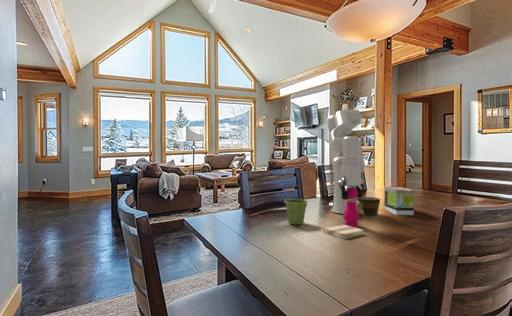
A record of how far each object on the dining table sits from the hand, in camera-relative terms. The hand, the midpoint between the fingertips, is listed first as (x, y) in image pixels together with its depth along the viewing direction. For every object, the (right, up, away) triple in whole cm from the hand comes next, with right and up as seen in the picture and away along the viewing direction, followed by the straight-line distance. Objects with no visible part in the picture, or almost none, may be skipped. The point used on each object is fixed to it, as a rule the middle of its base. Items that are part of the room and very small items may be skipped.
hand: (351, 198), depth 134 cm
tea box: (+36, -13, +27) cm, 46 cm away
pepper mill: (0, -14, +1) cm, 14 cm away
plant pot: (-25, -14, +7) cm, 30 cm away
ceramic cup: (+16, -13, +21) cm, 29 cm away
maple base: (-7, -14, -11) cm, 19 cm away
